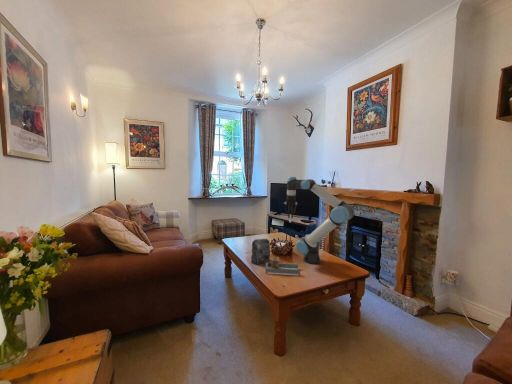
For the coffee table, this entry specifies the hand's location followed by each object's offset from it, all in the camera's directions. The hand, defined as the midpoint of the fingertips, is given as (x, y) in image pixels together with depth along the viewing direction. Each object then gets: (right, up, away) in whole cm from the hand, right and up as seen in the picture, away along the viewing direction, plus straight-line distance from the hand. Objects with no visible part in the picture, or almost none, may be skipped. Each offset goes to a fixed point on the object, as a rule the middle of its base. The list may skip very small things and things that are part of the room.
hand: (290, 221), depth 195 cm
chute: (-9, -36, -18) cm, 41 cm away
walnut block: (-15, -34, -18) cm, 41 cm away
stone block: (-25, -34, -1) cm, 43 cm away
